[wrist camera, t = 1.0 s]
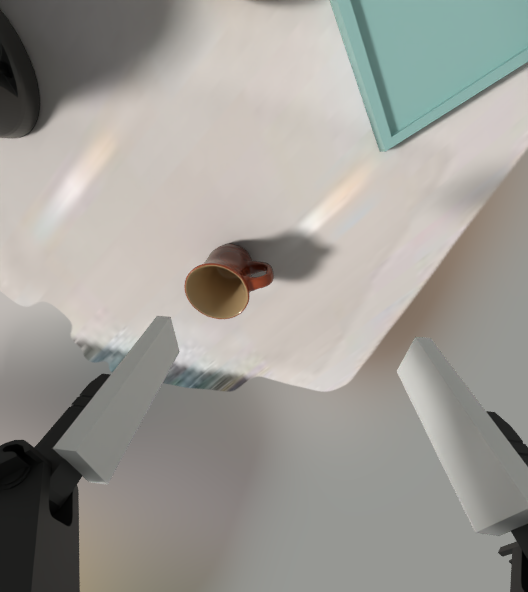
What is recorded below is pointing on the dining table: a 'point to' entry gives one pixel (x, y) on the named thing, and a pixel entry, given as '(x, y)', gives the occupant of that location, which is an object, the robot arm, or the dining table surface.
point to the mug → (225, 282)
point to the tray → (427, 56)
